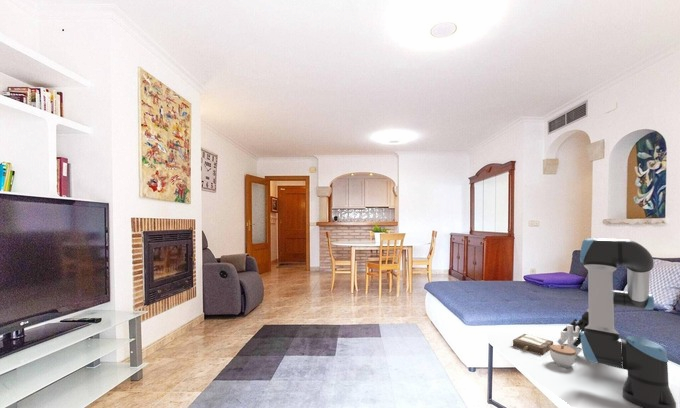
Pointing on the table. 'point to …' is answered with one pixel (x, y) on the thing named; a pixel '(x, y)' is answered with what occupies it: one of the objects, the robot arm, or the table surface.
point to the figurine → (571, 336)
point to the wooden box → (532, 344)
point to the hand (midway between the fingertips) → (564, 346)
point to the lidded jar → (563, 355)
